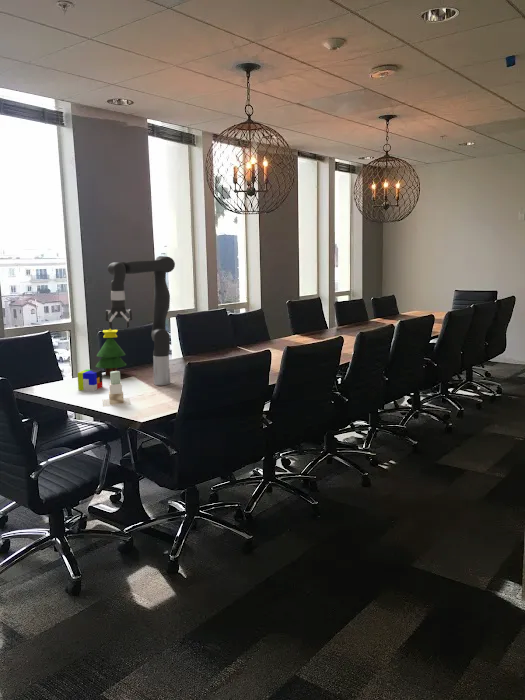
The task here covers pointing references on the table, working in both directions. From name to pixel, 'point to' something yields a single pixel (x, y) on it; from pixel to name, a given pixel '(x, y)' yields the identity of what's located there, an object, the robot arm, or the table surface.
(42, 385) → the table surface
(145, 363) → the table surface
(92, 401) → the table surface
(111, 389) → the tower mid
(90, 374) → the puzzle toy
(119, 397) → the tower base
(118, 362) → the decorative tree
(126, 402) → the felt mat
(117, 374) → the pale green block
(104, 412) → the table surface
